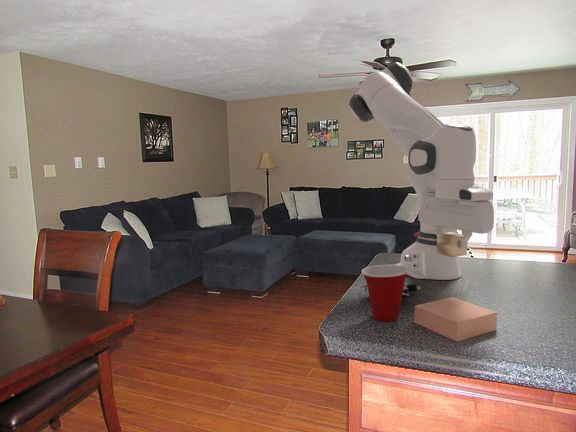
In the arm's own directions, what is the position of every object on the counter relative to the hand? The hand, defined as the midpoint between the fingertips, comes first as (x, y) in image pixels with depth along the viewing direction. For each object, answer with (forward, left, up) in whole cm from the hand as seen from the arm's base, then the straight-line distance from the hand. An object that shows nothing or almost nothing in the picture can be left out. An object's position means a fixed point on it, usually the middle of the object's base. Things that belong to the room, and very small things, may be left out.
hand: (451, 245), depth 104 cm
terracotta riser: (+10, -10, -16) cm, 21 cm away
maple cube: (0, 0, -2) cm, 2 cm away
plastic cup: (-2, -20, -16) cm, 25 cm away
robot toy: (-13, -8, -16) cm, 22 cm away
